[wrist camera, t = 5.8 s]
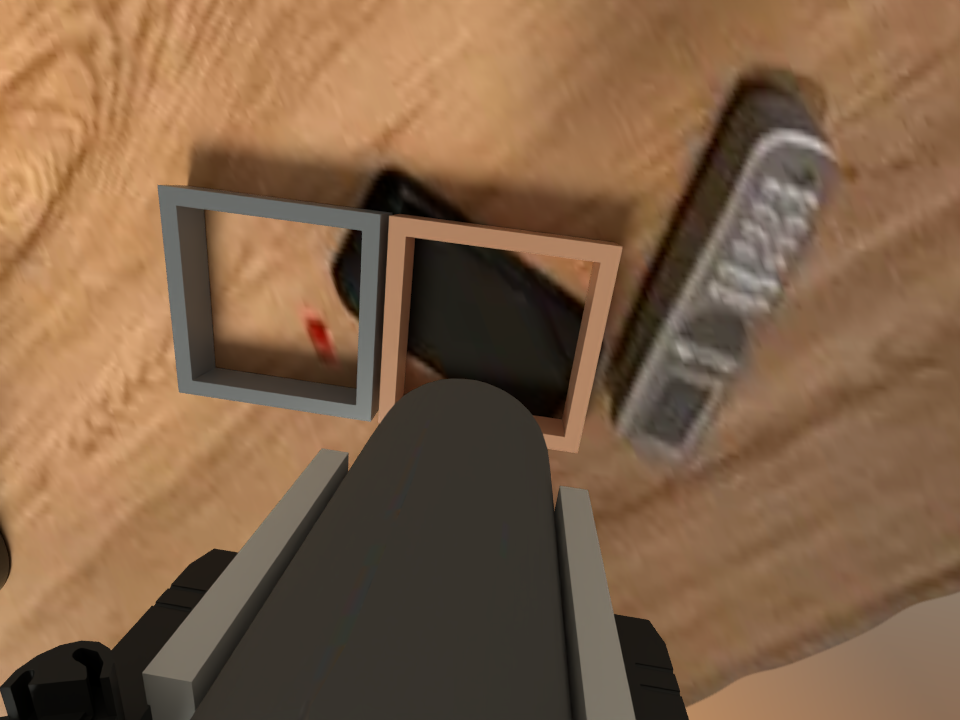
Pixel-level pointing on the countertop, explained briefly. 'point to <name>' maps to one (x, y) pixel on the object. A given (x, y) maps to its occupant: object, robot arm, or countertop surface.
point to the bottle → (418, 580)
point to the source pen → (195, 316)
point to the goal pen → (601, 253)
